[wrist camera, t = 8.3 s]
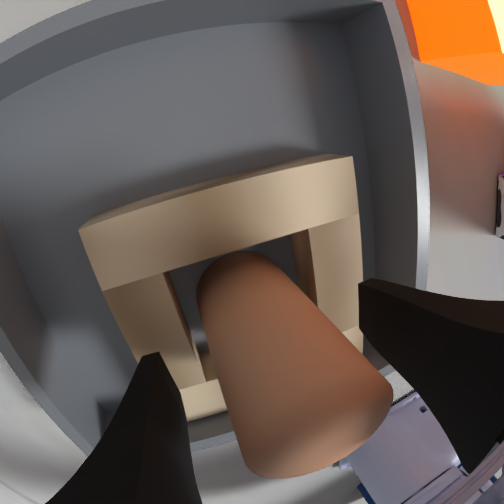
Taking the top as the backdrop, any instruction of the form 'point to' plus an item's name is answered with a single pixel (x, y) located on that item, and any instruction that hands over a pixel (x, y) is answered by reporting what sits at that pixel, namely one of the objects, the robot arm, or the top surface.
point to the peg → (285, 370)
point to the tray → (187, 162)
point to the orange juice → (461, 36)
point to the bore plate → (224, 241)
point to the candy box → (500, 208)
